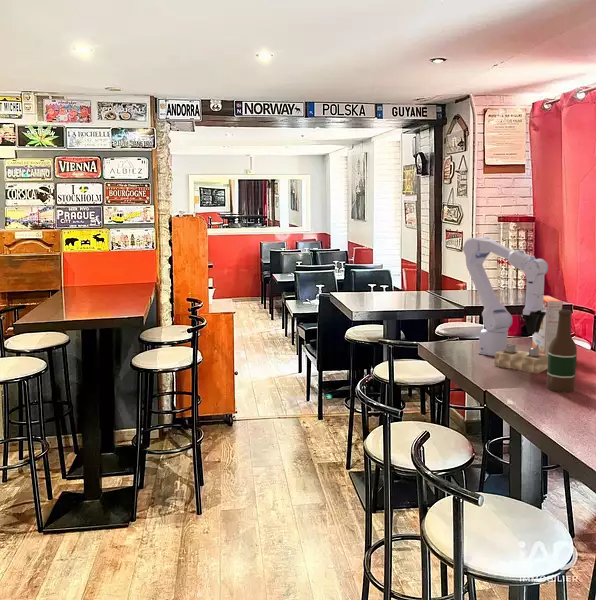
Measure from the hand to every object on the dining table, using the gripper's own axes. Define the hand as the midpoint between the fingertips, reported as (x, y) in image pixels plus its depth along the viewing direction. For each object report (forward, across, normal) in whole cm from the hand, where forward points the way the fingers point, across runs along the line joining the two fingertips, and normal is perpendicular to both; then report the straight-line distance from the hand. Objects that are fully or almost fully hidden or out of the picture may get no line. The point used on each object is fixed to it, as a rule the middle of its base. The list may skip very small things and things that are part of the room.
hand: (533, 333), depth 227 cm
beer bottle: (+11, -27, -19) cm, 35 cm away
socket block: (+10, -9, 0) cm, 14 cm away
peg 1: (+8, -9, +4) cm, 13 cm away
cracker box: (+10, +16, +2) cm, 19 cm away
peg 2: (+8, -9, -4) cm, 13 cm away
